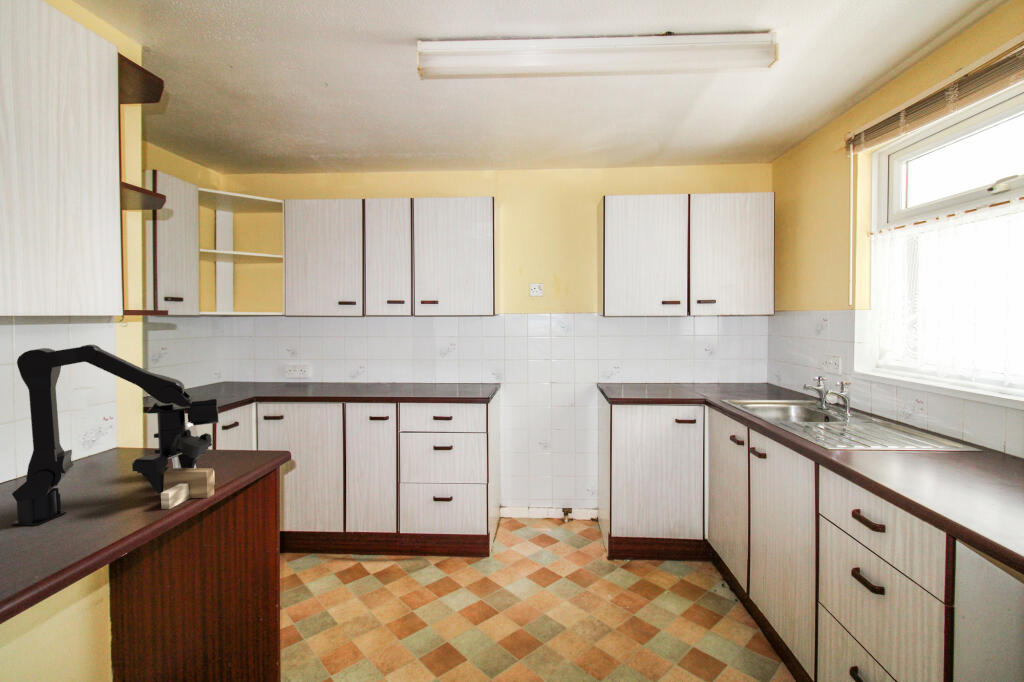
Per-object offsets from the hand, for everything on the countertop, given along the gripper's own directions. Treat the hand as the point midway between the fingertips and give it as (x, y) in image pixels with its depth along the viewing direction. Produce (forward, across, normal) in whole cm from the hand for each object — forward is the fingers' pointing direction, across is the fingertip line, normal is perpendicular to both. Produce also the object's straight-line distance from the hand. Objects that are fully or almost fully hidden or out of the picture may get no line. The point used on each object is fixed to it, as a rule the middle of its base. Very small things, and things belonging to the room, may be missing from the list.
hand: (174, 486), depth 117 cm
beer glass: (+3, +15, +9) cm, 18 cm away
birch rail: (+2, 0, -4) cm, 5 cm away
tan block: (+2, 0, -4) cm, 4 cm away
